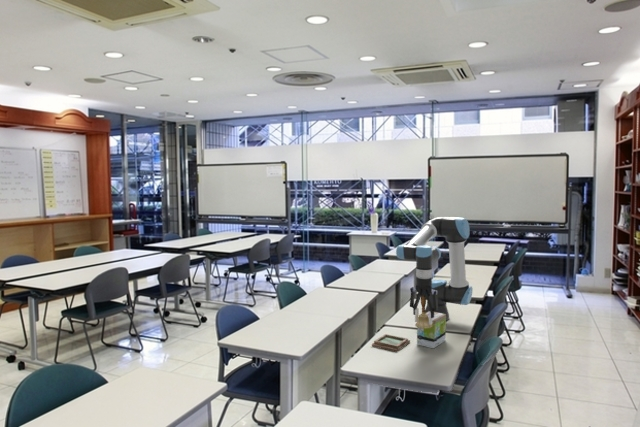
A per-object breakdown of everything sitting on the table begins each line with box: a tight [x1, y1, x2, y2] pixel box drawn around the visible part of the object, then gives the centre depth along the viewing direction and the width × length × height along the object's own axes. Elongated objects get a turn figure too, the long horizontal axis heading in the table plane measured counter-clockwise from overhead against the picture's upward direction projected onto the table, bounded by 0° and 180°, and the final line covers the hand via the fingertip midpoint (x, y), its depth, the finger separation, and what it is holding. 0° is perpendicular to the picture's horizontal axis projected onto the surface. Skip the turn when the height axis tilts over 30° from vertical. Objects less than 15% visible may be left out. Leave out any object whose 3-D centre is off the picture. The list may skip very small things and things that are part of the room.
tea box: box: [416, 312, 447, 349], centre depth 233 cm, size 15×10×15 cm, turn 143°
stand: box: [371, 333, 411, 353], centre depth 231 cm, size 16×14×2 cm
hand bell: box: [414, 296, 432, 328], centre depth 221 cm, size 8×8×16 cm
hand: (423, 322), depth 222 cm, fingers closed on hand bell, 7 cm apart
